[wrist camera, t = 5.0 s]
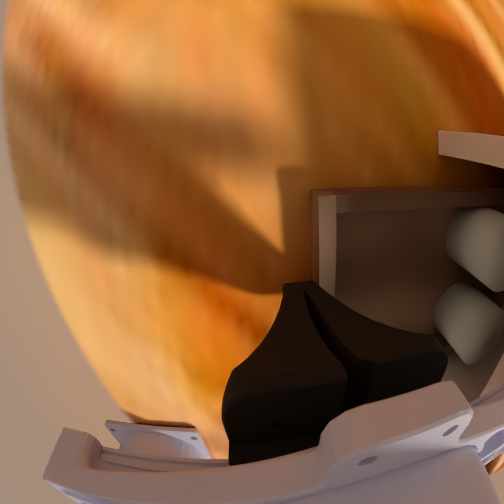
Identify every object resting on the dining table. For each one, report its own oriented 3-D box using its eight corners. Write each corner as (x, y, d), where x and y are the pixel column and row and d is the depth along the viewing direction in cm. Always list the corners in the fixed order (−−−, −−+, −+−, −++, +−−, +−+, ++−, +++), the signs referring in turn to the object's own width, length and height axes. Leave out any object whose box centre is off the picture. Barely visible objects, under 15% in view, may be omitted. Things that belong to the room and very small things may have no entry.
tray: (479, 318, 16) (495, 334, 14) (307, 358, 16) (314, 384, 14) (506, 186, 12) (529, 194, 10) (306, 186, 12) (318, 196, 10)
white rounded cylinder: (463, 325, 15) (491, 356, 11) (426, 334, 15) (453, 370, 11) (479, 278, 13) (514, 305, 10) (441, 283, 13) (477, 315, 10)
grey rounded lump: (483, 256, 13) (520, 282, 9) (442, 268, 13) (480, 300, 10) (488, 198, 11) (531, 216, 8) (446, 204, 12) (491, 225, 8)
